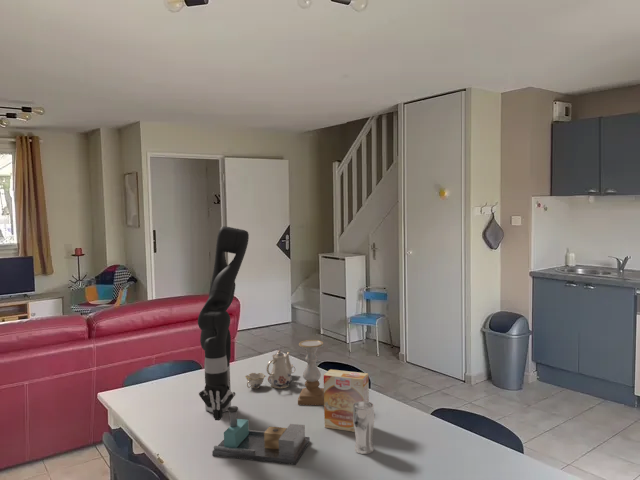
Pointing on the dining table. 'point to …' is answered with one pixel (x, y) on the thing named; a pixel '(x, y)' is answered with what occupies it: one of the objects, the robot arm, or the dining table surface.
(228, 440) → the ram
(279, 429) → the block
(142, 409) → the dining table surface
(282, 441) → the frame
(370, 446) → the beer glass
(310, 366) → the candle holder
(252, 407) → the dining table surface
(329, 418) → the coffeecake box
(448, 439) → the dining table surface
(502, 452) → the dining table surface
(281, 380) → the chinaware
